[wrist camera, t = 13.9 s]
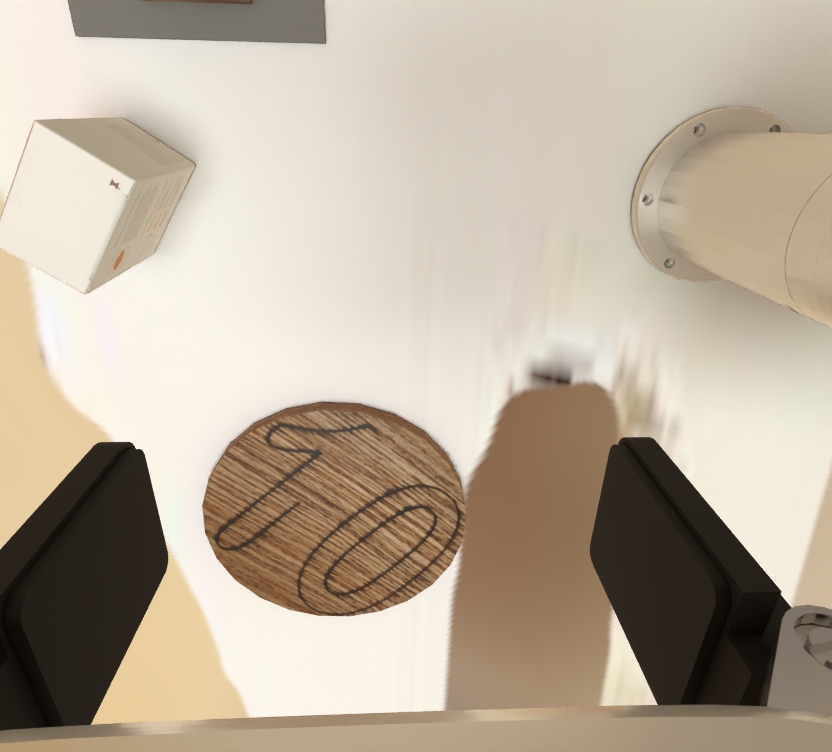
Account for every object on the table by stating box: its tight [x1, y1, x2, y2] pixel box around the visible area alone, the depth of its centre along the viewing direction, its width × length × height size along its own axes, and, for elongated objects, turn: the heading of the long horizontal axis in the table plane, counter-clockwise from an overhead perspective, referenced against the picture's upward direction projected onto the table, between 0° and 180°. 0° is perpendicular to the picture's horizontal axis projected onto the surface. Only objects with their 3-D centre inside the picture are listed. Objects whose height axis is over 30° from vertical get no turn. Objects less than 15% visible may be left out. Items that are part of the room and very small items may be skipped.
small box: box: [0, 118, 196, 294], centre depth 34 cm, size 8×6×10 cm
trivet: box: [202, 402, 466, 616], centre depth 52 cm, size 25×25×2 cm
